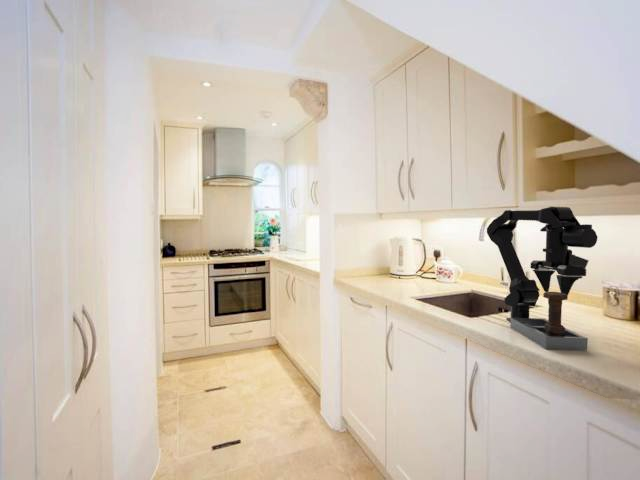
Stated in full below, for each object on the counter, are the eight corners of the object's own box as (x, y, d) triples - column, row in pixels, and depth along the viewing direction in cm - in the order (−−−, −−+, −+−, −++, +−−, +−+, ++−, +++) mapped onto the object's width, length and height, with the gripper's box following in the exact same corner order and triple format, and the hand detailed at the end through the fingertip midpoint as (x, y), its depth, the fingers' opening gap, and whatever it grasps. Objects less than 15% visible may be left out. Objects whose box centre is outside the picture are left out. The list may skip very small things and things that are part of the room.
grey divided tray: (510, 327, 112) (510, 317, 112) (544, 328, 111) (544, 318, 111) (545, 349, 92) (546, 337, 92) (587, 350, 91) (587, 338, 91)
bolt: (565, 342, 98) (567, 292, 97) (566, 347, 93) (568, 295, 93) (542, 338, 101) (543, 290, 100) (542, 343, 97) (543, 293, 96)
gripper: (606, 248, 94) (604, 301, 95) (564, 244, 113) (562, 289, 113) (566, 247, 95) (564, 300, 96) (530, 244, 114) (528, 288, 114)
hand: (555, 294), depth 105 cm, fingers open, 9 cm apart
